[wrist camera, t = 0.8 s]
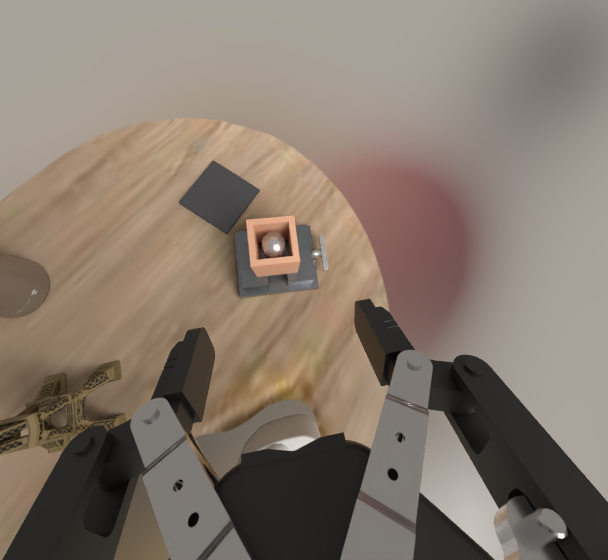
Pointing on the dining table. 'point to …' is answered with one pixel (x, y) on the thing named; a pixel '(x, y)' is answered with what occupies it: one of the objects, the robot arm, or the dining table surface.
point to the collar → (255, 236)
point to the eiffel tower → (48, 401)
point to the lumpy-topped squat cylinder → (283, 434)
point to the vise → (276, 248)
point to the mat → (219, 197)
